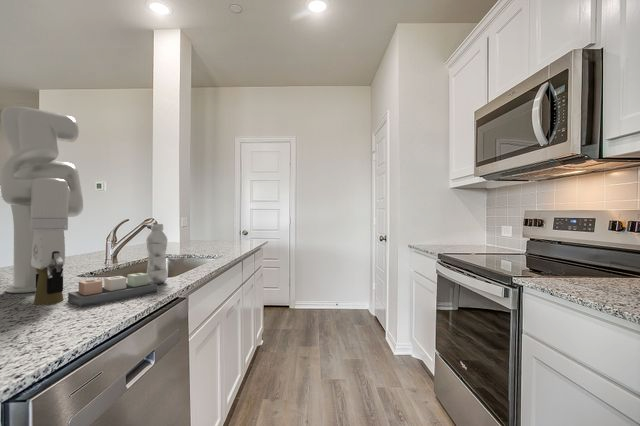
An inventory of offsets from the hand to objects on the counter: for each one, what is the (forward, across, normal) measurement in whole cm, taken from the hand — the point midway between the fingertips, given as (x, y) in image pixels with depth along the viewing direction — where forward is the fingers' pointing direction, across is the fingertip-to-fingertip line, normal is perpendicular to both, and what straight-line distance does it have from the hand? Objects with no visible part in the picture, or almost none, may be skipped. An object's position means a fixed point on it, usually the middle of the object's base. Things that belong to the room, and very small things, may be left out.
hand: (49, 290), depth 84 cm
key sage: (+1, +9, +19) cm, 20 cm away
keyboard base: (+3, +8, +12) cm, 15 cm away
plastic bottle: (+3, +1, +28) cm, 28 cm away
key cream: (+1, +9, +12) cm, 15 cm away
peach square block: (+1, +9, +6) cm, 11 cm away
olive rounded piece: (+3, 0, 0) cm, 3 cm away
